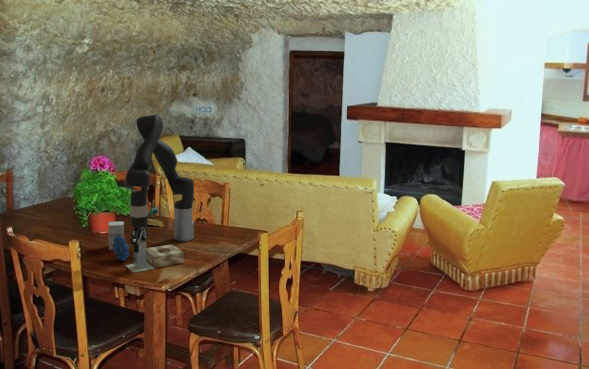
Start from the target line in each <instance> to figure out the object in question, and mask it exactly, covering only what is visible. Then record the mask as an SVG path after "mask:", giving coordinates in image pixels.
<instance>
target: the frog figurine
mask: <svg viewBox="0 0 589 369" xmlns="http://www.w3.org/2000/svg"><path fill="white" fill-rule="evenodd" d="M151 203H152V206H150V208H149V211H148V214H149V215H148V224H147V226H148V225H149V226H154V227H160V228H161V227H162V228H163V227H165V225H164V222H162V221H160V220H157V219H156V217H155V216H156V215H158V214H159V213H160V211H159V208H160V206H159V205H156V206H155V201H154V200H151ZM162 215H163V214H162V213H160V216H162ZM150 217H151V218H150ZM152 218H154V219H152Z"/></svg>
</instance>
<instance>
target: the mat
mask: <svg viewBox="0 0 589 369" xmlns="http://www.w3.org/2000/svg"><path fill="white" fill-rule="evenodd" d="M125 267H126V268H127V269H128V270H129V271H130V272H131V273H133V274H134V273H140V272H146V271H150V270H152V271H153V270H156V267H154V266H153V265H152V264H150V263H149V262H148V261H147V267H146V268H140V269H136V268H135V267H134V263H131V264H126V265H125Z"/></svg>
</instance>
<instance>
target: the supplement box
mask: <svg viewBox="0 0 589 369" xmlns="http://www.w3.org/2000/svg"><path fill="white" fill-rule="evenodd" d="M124 225H125V222H124V221H108V225H107V226H108V228H107V229H108V231H107V232H108V250H110V251H111V250H113V246H112V244H113V242H114V241H113V238H114V237H115V236H116V237H117V235H121V236H122V238H124V239H125V231H124V230H125V226H124Z"/></svg>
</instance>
